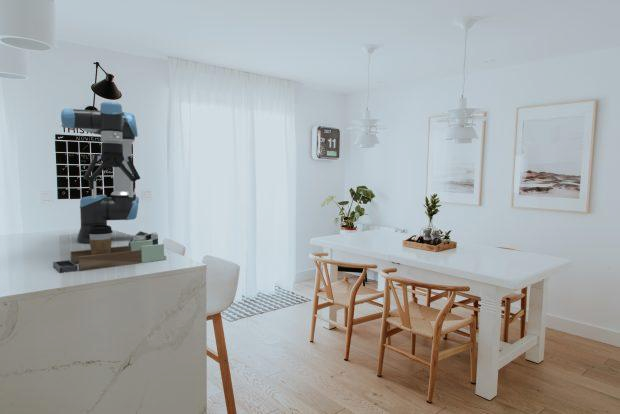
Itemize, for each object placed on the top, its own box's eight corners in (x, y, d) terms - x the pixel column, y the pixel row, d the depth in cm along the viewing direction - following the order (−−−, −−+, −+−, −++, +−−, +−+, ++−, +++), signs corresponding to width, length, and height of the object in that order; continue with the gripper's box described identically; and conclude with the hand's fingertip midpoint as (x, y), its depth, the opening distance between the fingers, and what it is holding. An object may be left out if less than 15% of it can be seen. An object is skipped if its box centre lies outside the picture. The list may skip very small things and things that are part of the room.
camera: (144, 249, 191) (144, 227, 190) (161, 250, 189) (161, 228, 188) (122, 255, 175) (122, 232, 174) (140, 256, 173) (140, 233, 172)
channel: (71, 264, 157) (70, 251, 156) (130, 257, 171) (130, 245, 171) (79, 270, 147) (79, 257, 146) (141, 262, 161) (141, 250, 161)
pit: (53, 266, 152) (53, 262, 152) (69, 264, 156) (69, 260, 156) (60, 273, 143) (59, 267, 143) (77, 270, 147) (77, 265, 147)
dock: (130, 257, 171) (129, 242, 171) (154, 254, 178) (153, 239, 178) (141, 262, 161) (141, 246, 161) (166, 259, 168) (166, 244, 168)
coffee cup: (109, 261, 164) (108, 224, 162) (116, 264, 158) (115, 226, 156) (86, 264, 158) (85, 225, 157) (93, 267, 152) (92, 228, 151)
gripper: (78, 140, 147) (80, 199, 148) (147, 144, 164) (148, 197, 165) (73, 141, 152) (74, 198, 154) (140, 145, 169) (141, 196, 171)
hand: (113, 197), depth 159 cm, fingers open, 13 cm apart
